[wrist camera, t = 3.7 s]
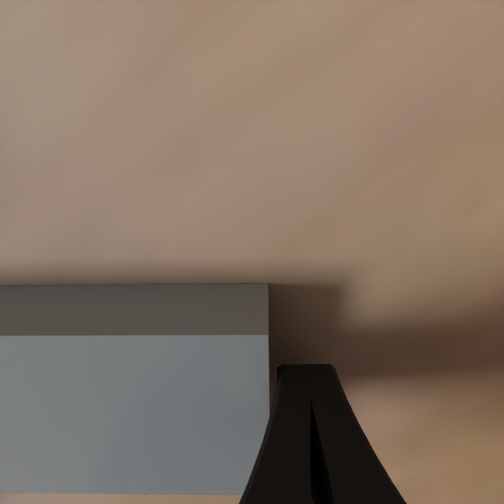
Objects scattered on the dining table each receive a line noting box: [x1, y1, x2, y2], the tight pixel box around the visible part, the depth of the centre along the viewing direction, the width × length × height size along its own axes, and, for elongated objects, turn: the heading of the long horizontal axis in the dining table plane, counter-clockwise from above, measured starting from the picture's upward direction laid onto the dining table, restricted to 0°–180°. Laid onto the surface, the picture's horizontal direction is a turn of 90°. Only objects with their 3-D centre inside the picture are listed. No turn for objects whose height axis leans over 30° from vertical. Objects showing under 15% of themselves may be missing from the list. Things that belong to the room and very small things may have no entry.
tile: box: [0, 283, 270, 495], centre depth 12 cm, size 6×10×2 cm, turn 92°
